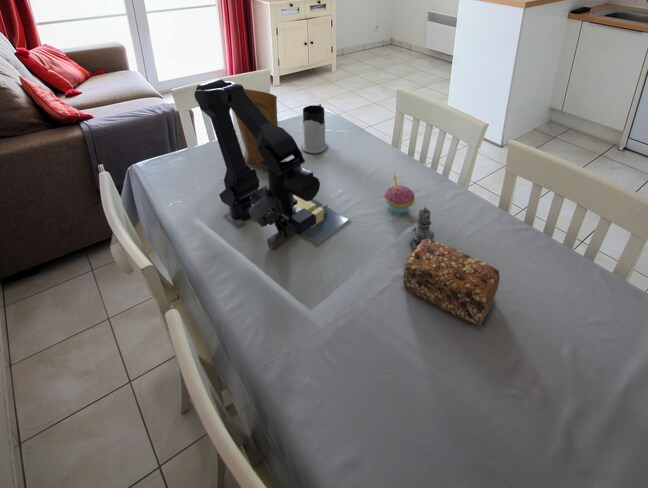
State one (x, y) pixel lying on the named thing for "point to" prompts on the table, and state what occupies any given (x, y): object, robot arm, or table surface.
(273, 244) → the knife
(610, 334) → the table surface
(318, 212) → the butter slice
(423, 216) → the grey figurine
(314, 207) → the butter block
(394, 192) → the cupcake
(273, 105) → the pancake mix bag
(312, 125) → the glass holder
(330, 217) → the butter dish
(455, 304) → the bread
